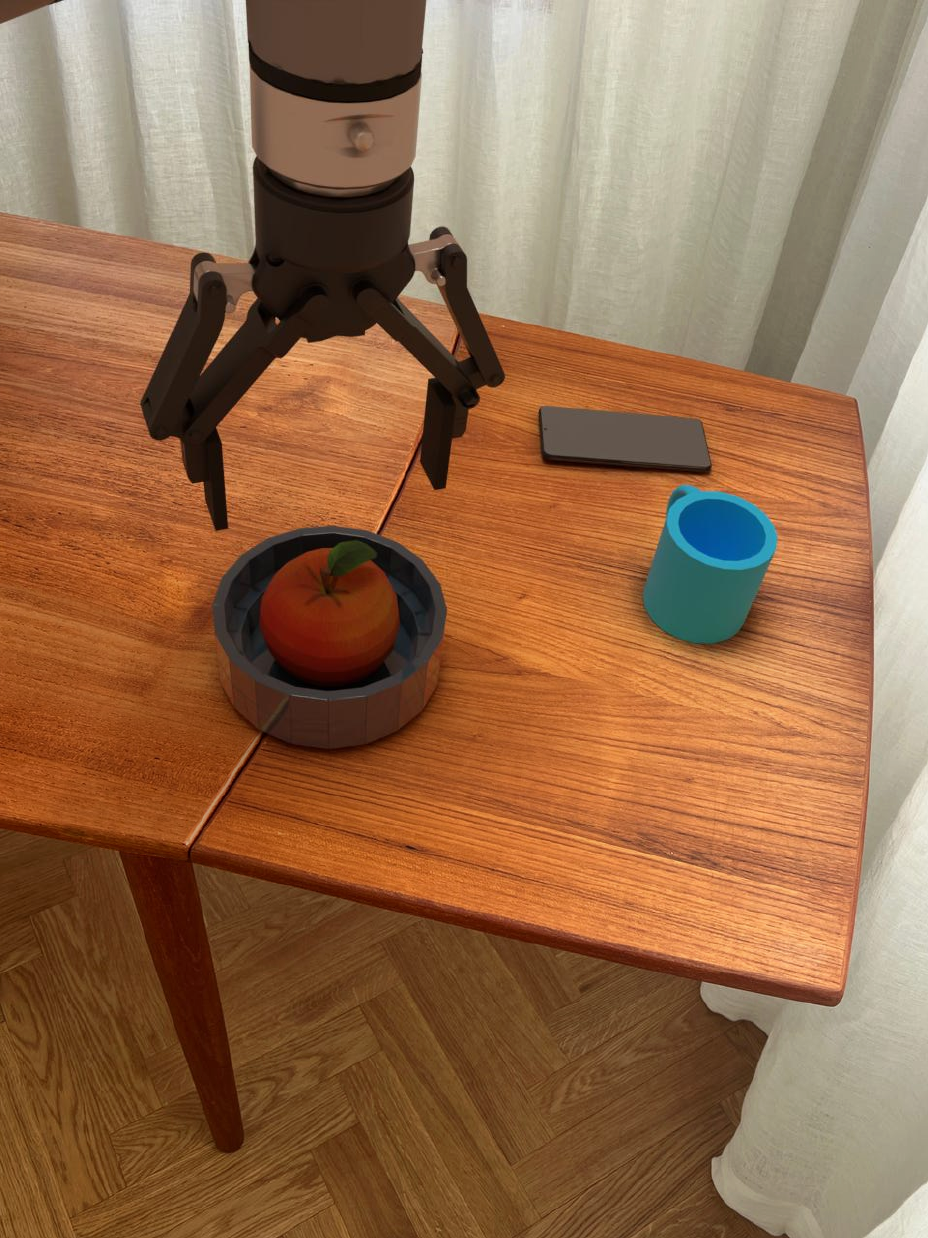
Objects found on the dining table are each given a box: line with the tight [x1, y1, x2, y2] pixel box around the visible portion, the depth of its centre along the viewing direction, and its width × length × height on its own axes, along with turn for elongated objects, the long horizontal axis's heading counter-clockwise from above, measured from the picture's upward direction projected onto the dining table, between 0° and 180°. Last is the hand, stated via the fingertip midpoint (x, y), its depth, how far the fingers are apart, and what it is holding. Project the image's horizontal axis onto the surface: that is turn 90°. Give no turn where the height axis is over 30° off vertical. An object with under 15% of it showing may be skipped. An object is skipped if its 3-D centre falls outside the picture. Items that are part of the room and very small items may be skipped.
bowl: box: [211, 525, 448, 750], centre depth 77 cm, size 16×16×6 cm
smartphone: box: [537, 405, 713, 473], centre depth 98 cm, size 7×1×15 cm
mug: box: [641, 484, 779, 645], centre depth 85 cm, size 12×8×8 cm
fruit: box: [259, 540, 400, 687], centre depth 75 cm, size 10×10×10 cm
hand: (327, 494), depth 68 cm, fingers open, 13 cm apart
